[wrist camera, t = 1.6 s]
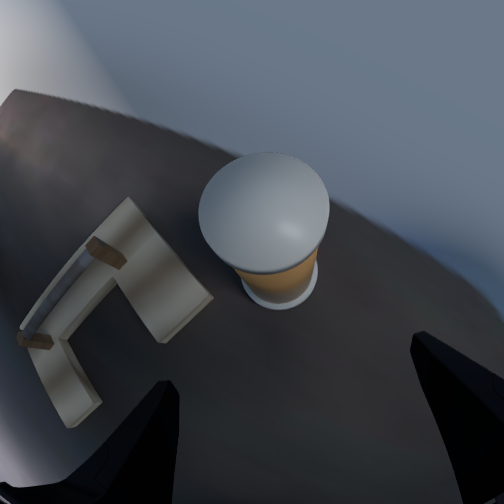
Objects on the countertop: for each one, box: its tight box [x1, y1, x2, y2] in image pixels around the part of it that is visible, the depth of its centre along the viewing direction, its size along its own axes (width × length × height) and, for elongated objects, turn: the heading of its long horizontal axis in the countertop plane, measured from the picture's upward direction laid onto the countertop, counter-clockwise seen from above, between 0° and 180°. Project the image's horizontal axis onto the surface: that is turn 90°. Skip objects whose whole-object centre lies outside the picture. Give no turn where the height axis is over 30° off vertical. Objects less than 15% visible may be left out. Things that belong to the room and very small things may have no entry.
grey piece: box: [16, 196, 214, 429], centre depth 22 cm, size 14×22×6 cm, turn 133°
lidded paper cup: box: [198, 152, 329, 311], centre depth 18 cm, size 6×6×12 cm
